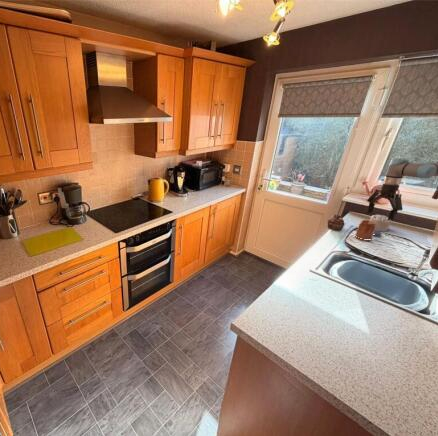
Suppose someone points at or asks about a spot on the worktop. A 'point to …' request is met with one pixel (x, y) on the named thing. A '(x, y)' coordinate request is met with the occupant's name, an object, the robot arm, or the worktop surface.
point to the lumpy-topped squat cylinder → (381, 222)
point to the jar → (366, 230)
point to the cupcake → (336, 223)
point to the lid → (377, 233)
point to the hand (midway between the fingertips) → (379, 216)
